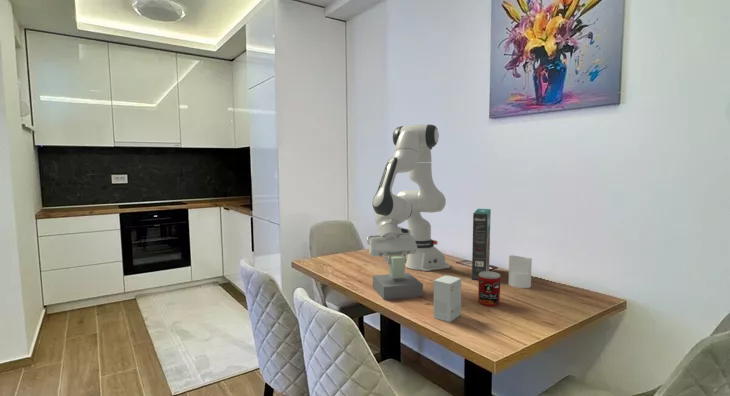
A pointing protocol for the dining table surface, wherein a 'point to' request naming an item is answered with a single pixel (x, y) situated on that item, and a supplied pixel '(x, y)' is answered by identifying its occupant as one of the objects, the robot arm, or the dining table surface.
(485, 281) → the canned food
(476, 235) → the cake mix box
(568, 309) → the dining table surface
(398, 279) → the stand
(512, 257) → the base with upright slab
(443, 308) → the small box
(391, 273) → the sage block
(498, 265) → the dining table surface
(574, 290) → the dining table surface
